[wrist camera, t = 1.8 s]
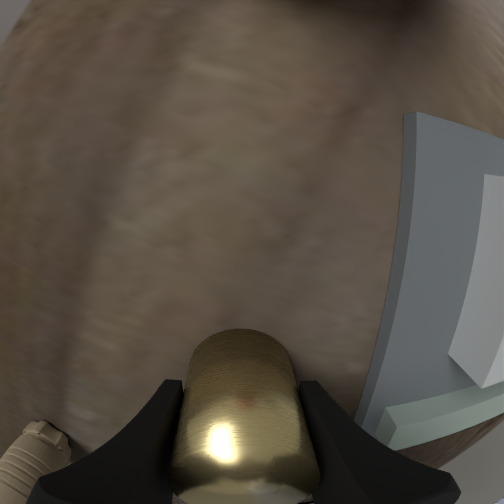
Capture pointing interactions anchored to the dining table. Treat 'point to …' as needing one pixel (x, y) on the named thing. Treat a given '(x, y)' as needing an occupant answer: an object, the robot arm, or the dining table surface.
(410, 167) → the jig
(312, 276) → the dining table surface
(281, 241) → the dining table surface
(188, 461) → the brass cylinder
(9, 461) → the handle
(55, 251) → the dining table surface
